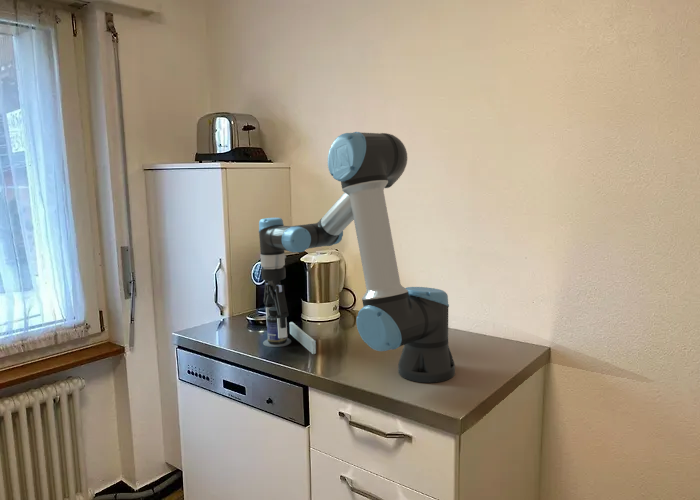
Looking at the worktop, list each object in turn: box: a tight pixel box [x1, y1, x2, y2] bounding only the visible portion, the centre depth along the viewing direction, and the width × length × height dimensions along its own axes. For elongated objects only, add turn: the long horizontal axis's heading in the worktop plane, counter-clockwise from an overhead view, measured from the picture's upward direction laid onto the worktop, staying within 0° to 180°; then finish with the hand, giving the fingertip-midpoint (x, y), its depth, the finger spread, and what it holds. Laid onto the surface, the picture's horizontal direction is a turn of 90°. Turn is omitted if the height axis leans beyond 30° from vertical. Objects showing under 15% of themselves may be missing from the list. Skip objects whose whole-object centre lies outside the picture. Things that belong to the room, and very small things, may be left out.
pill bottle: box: [266, 306, 288, 344], centre depth 172 cm, size 6×6×11 cm
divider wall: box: [289, 321, 317, 355], centre depth 172 cm, size 23×1×4 cm, turn 24°
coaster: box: [262, 337, 292, 348], centre depth 173 cm, size 9×9×1 cm
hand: (276, 331), depth 173 cm, fingers open, 13 cm apart
